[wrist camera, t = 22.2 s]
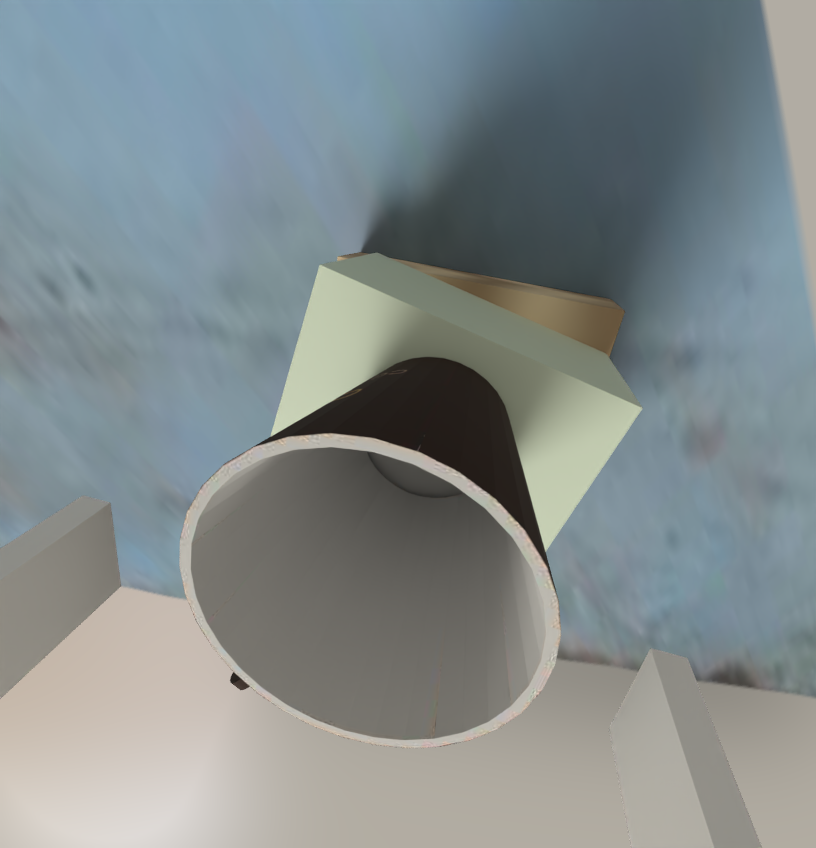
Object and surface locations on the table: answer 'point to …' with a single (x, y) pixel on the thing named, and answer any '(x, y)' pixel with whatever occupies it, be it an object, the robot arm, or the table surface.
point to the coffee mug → (380, 563)
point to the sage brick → (475, 348)
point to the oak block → (538, 304)
